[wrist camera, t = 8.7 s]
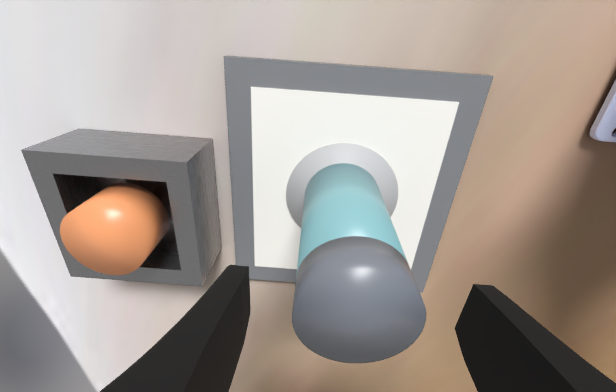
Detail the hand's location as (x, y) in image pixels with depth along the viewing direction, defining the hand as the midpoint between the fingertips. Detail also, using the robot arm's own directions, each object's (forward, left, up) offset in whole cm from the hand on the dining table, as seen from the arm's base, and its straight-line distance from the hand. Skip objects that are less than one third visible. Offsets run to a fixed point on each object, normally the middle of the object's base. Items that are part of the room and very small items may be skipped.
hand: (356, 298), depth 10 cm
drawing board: (0, 0, -8) cm, 8 cm away
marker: (0, 0, -7) cm, 7 cm away
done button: (+11, +1, -5) cm, 12 cm away
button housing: (+11, +1, -8) cm, 13 cm away
